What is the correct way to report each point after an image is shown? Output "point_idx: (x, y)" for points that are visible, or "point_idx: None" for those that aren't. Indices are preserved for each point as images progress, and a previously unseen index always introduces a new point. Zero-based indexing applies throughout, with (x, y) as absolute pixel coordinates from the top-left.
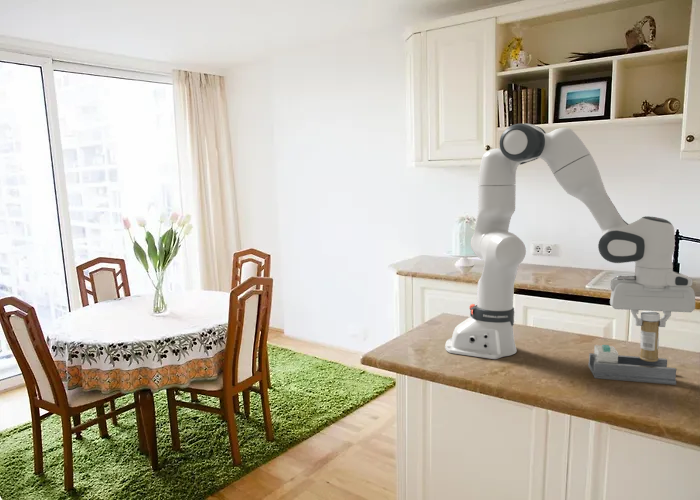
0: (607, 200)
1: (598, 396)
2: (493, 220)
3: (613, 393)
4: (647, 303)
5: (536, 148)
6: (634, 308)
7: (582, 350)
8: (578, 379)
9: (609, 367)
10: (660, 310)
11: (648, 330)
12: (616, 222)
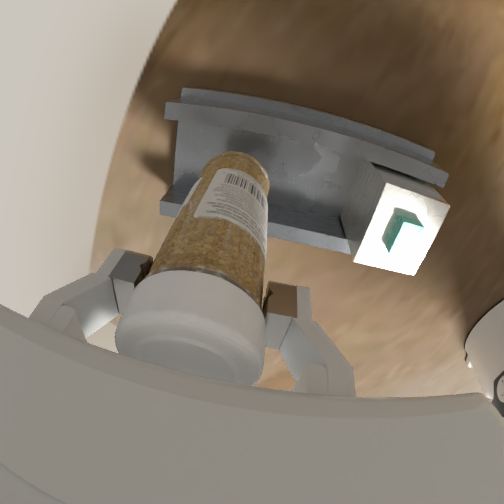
0: None
1: (475, 28)
2: None
3: (431, 31)
4: (219, 464)
5: None
6: (367, 409)
7: (334, 335)
8: (474, 147)
9: (404, 153)
10: (92, 349)
11: (237, 232)
12: None
